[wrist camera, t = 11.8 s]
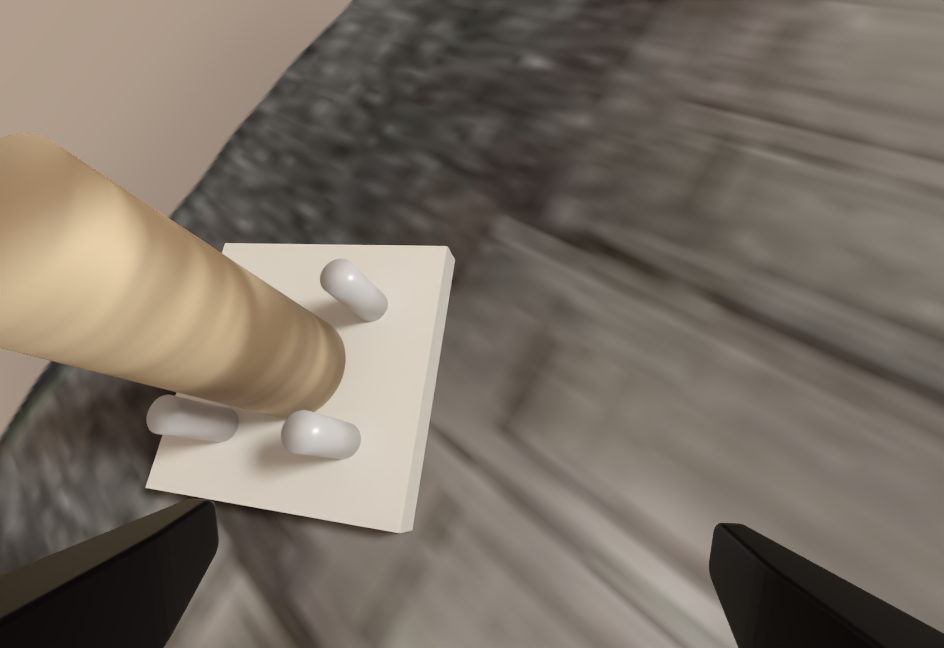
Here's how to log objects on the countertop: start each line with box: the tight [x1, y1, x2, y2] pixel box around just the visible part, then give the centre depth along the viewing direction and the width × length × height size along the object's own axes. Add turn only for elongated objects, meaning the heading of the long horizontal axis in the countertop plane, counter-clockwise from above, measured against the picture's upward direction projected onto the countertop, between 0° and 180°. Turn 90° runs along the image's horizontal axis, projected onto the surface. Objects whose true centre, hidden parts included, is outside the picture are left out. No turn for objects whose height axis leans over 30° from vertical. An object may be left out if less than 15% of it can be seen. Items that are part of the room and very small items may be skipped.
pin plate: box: [145, 243, 455, 533], centre depth 22 cm, size 13×13×5 cm
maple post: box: [0, 134, 346, 419], centre depth 17 cm, size 5×5×13 cm
